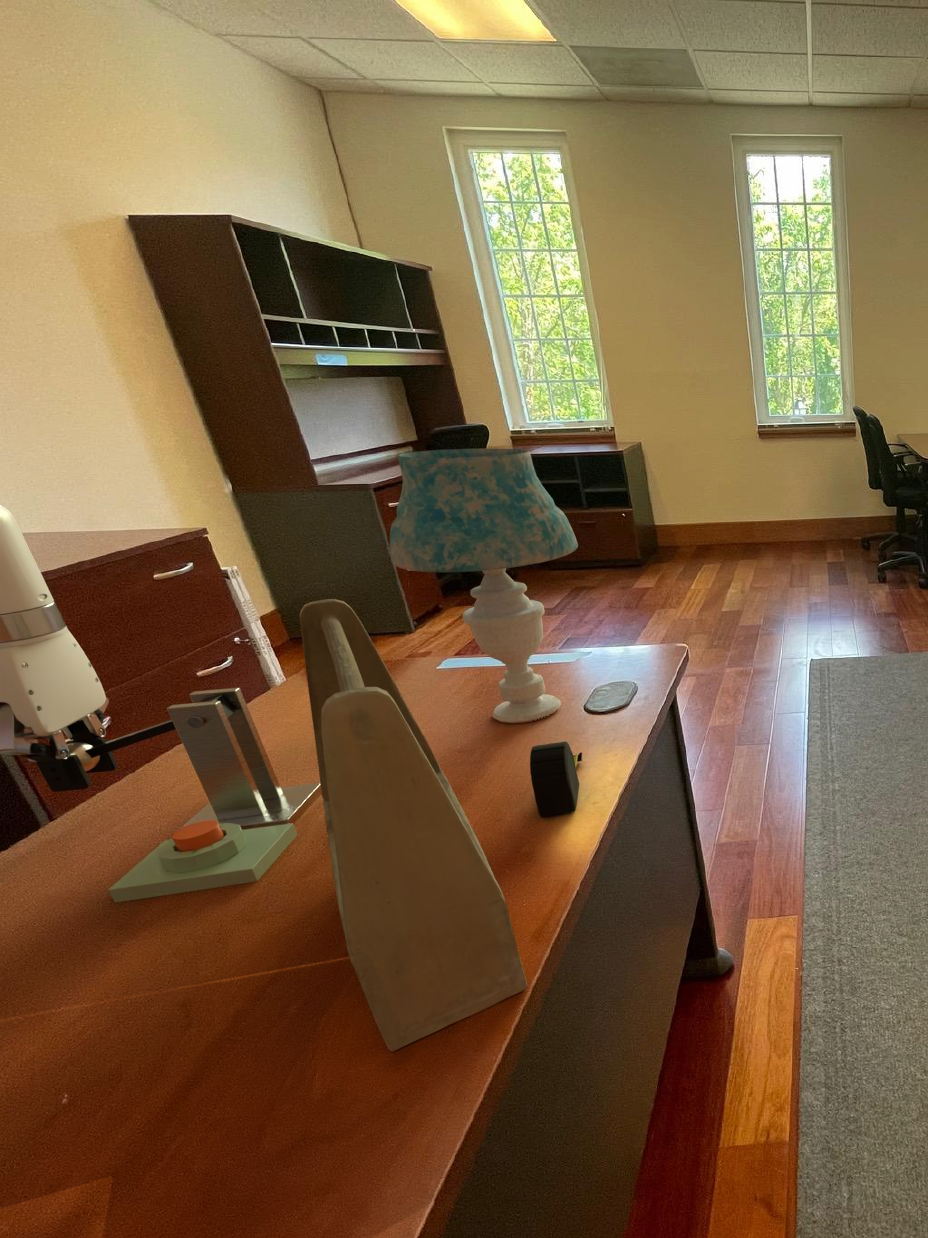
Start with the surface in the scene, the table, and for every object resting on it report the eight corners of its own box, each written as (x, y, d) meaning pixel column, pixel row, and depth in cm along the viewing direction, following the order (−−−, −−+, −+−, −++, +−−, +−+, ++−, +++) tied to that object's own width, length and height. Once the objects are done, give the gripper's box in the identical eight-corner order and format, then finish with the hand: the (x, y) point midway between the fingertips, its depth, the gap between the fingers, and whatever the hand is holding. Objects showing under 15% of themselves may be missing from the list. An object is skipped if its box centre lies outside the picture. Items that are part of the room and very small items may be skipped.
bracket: (176, 843, 82) (115, 719, 76) (221, 803, 90) (169, 688, 83) (291, 827, 85) (241, 707, 79) (324, 790, 93) (282, 678, 86)
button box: (114, 903, 72) (99, 875, 71) (171, 852, 80) (157, 826, 79) (257, 881, 76) (245, 854, 74) (298, 835, 84) (287, 809, 82)
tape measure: (576, 814, 88) (563, 757, 85) (537, 821, 87) (523, 763, 83) (583, 761, 100) (573, 709, 97) (549, 766, 99) (537, 714, 96)
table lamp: (456, 695, 121) (386, 448, 105) (607, 676, 130) (563, 444, 114) (426, 757, 101) (335, 463, 85) (607, 729, 110) (555, 457, 94)
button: (170, 855, 75) (163, 841, 74) (191, 836, 78) (184, 823, 77) (212, 849, 76) (206, 836, 75) (231, 831, 79) (225, 817, 78)
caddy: (533, 989, 63) (444, 672, 51) (386, 1057, 56) (244, 713, 44) (464, 841, 83) (388, 590, 71) (350, 879, 76) (245, 609, 64)
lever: (60, 782, 79) (35, 758, 77) (83, 768, 82) (59, 744, 80) (225, 725, 81) (203, 700, 80) (241, 713, 84) (221, 689, 83)
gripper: (25, 606, 80) (97, 751, 87) (-122, 654, 65) (-21, 824, 72) (110, 602, 82) (174, 744, 89) (-14, 648, 67) (74, 813, 75)
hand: (85, 778), depth 81 cm, fingers closed on lever, 3 cm apart
